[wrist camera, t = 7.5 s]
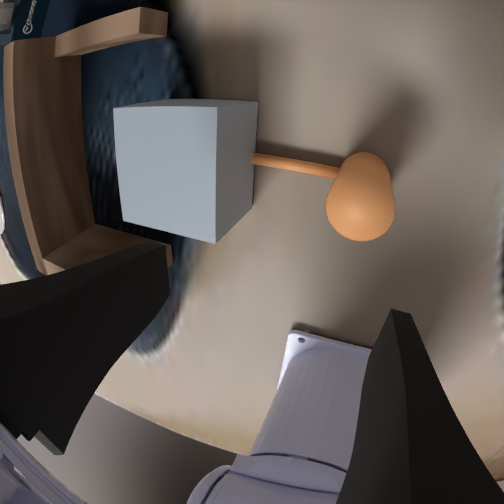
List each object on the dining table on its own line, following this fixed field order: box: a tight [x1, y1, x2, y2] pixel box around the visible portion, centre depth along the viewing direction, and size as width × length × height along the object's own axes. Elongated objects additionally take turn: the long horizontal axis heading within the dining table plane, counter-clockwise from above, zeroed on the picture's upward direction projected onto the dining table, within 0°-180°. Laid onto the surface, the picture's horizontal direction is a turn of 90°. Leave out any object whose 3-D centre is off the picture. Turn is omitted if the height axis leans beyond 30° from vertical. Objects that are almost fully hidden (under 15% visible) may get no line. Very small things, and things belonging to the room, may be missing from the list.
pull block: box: [113, 99, 395, 244], centre depth 14 cm, size 13×6×4 cm, turn 86°
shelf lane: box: [4, 7, 173, 275], centre depth 17 cm, size 10×17×6 cm, turn 176°
